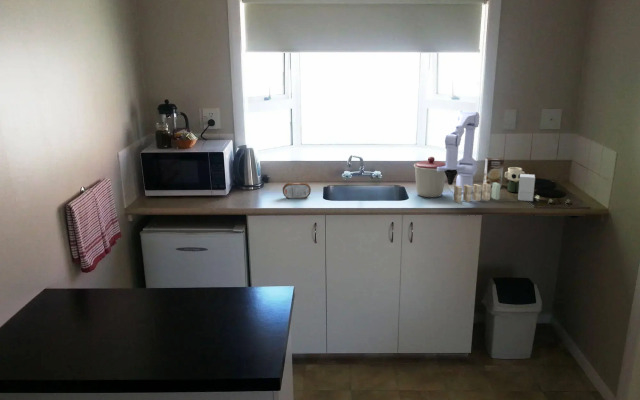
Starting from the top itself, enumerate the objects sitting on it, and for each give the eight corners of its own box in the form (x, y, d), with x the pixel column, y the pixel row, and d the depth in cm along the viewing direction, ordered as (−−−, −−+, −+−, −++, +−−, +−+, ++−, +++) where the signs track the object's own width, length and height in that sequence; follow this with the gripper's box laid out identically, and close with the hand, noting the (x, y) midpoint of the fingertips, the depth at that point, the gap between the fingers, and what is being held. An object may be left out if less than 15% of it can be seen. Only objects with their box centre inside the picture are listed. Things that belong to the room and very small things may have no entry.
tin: (310, 197, 279) (310, 181, 277) (311, 198, 276) (310, 183, 274) (282, 197, 278) (282, 182, 276) (282, 199, 275) (282, 184, 273)
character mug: (505, 193, 281) (508, 170, 277) (500, 190, 288) (502, 167, 284) (525, 193, 282) (527, 169, 278) (520, 189, 288) (522, 166, 285)
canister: (423, 201, 268) (424, 161, 263) (406, 192, 285) (407, 155, 279) (453, 197, 274) (455, 158, 268) (435, 189, 290) (437, 152, 285)
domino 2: (462, 199, 270) (463, 184, 268) (466, 199, 271) (467, 184, 268) (467, 202, 266) (468, 186, 264) (470, 201, 266) (471, 186, 264)
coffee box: (485, 187, 294) (487, 159, 290) (483, 184, 300) (485, 157, 296) (501, 187, 293) (504, 159, 289) (499, 184, 299) (501, 157, 295)
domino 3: (472, 198, 271) (473, 184, 269) (475, 198, 272) (476, 183, 270) (476, 201, 267) (477, 186, 265) (480, 200, 268) (481, 185, 266)
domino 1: (453, 200, 269) (454, 185, 267) (456, 200, 269) (457, 185, 267) (457, 202, 265) (458, 187, 263) (461, 202, 265) (462, 187, 263)
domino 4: (481, 198, 273) (482, 183, 271) (485, 197, 273) (486, 183, 271) (486, 200, 269) (487, 185, 266) (489, 200, 269) (490, 185, 267)
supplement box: (532, 197, 272) (535, 174, 269) (532, 201, 265) (535, 177, 262) (517, 196, 275) (520, 173, 271) (517, 200, 268) (519, 176, 265)
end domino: (491, 197, 274) (492, 182, 272) (494, 197, 275) (496, 182, 272) (495, 199, 270) (496, 184, 268) (499, 199, 270) (500, 184, 268)
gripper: (441, 160, 254) (440, 187, 258) (468, 158, 257) (467, 185, 261) (435, 157, 261) (434, 183, 265) (462, 156, 264) (460, 182, 267)
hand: (450, 184), depth 263 cm, fingers closed
